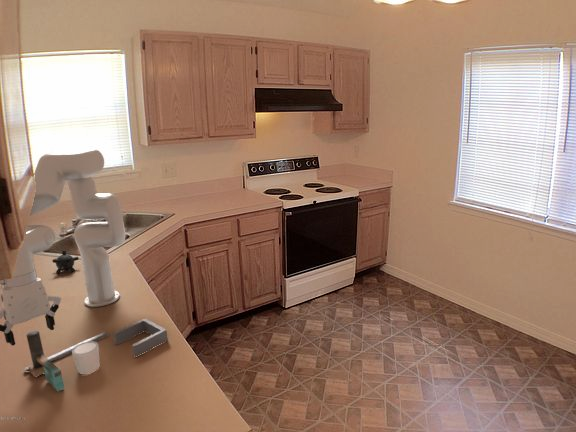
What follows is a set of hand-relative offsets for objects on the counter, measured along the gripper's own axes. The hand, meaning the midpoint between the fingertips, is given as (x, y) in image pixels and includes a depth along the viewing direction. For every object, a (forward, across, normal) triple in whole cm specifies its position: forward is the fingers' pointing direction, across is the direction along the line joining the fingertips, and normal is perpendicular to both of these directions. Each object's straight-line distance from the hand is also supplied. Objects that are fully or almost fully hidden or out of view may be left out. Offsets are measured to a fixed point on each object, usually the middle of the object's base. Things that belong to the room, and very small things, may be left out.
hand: (32, 335), depth 110 cm
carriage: (+12, 0, -5) cm, 13 cm away
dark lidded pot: (+11, +38, +74) cm, 84 cm away
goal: (+12, +26, -10) cm, 30 cm away
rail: (+12, +10, +4) cm, 16 cm away
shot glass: (+12, +10, -10) cm, 18 cm away
